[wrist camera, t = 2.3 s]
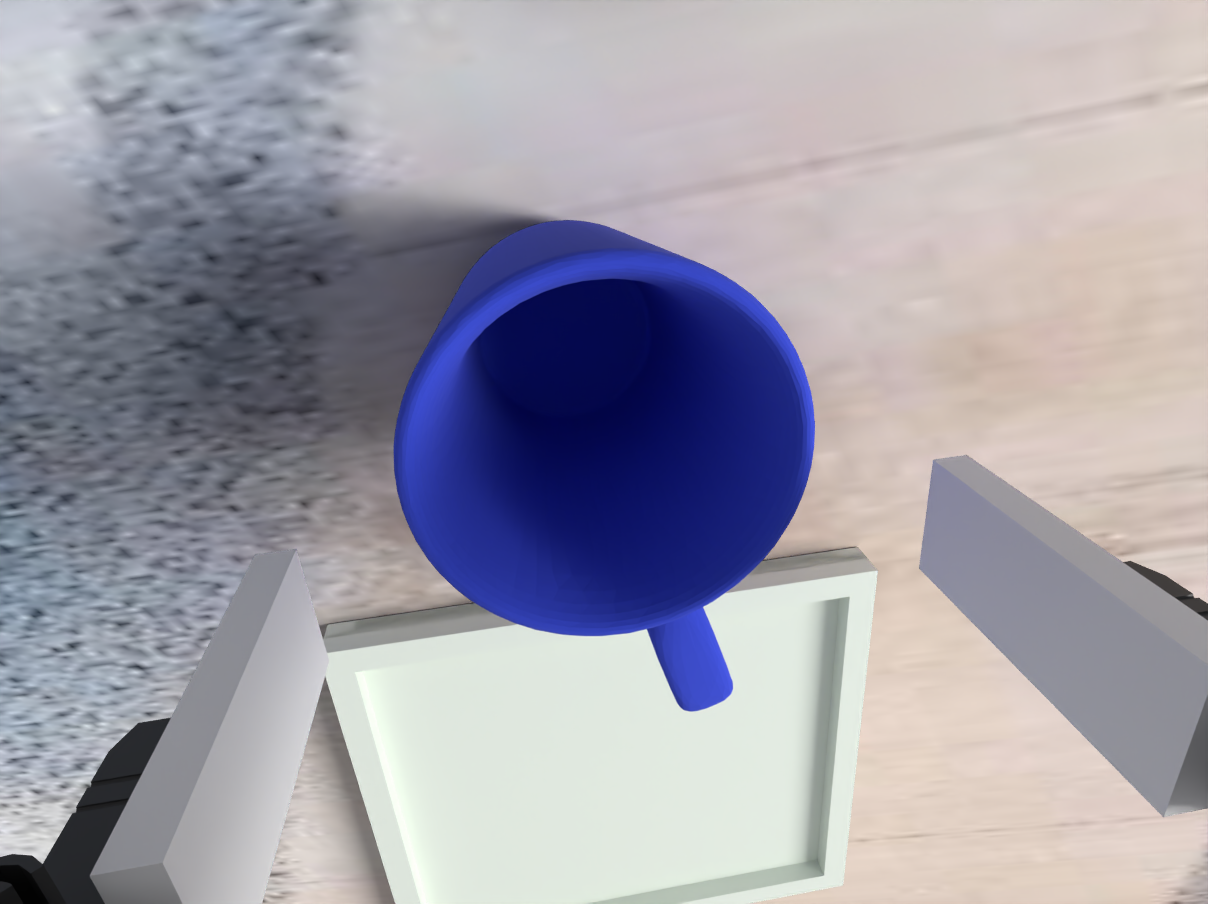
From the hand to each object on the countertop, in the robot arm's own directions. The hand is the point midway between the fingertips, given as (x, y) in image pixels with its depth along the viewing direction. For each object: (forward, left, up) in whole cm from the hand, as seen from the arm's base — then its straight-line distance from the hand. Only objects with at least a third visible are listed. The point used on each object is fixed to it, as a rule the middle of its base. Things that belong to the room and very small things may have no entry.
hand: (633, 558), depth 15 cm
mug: (0, 0, -10) cm, 10 cm away
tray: (+17, 0, -10) cm, 19 cm away
